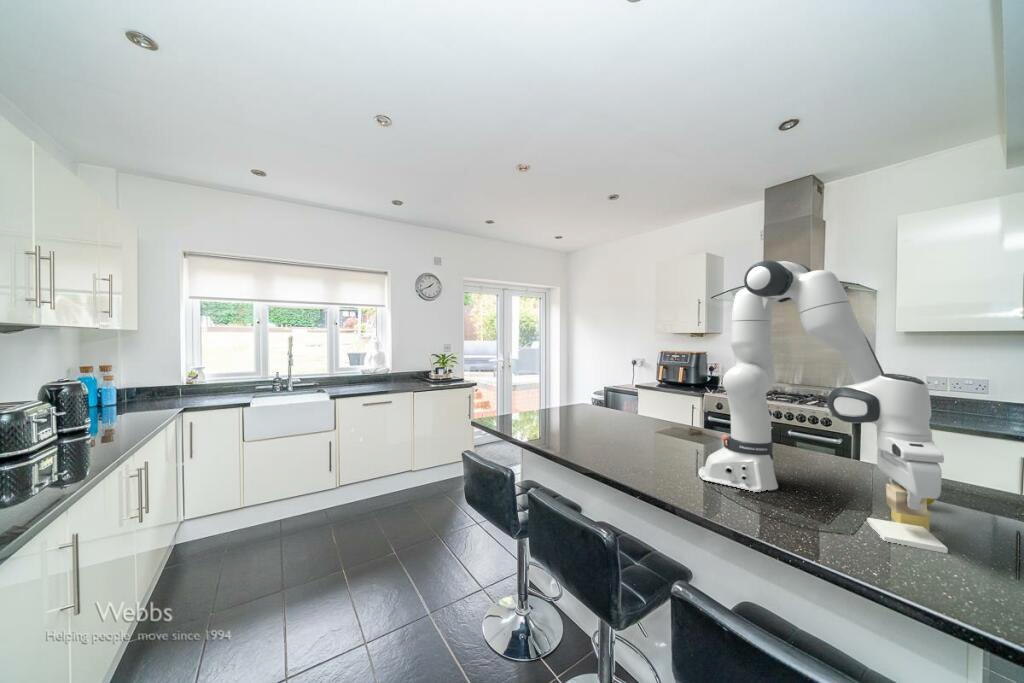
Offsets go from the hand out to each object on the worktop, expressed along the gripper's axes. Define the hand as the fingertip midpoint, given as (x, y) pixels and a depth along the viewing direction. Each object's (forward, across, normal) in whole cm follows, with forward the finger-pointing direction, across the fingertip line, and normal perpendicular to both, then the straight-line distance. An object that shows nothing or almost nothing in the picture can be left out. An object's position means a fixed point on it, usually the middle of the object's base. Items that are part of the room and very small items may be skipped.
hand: (905, 502), depth 84 cm
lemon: (+8, -23, +11) cm, 26 cm away
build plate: (+8, 0, 0) cm, 8 cm away
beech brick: (+2, 0, 0) cm, 2 cm away
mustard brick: (+8, -9, +4) cm, 13 cm away
